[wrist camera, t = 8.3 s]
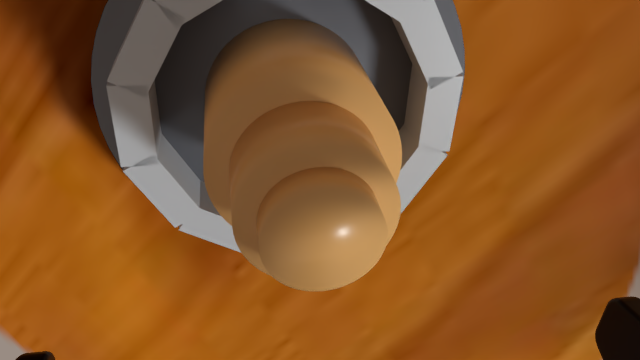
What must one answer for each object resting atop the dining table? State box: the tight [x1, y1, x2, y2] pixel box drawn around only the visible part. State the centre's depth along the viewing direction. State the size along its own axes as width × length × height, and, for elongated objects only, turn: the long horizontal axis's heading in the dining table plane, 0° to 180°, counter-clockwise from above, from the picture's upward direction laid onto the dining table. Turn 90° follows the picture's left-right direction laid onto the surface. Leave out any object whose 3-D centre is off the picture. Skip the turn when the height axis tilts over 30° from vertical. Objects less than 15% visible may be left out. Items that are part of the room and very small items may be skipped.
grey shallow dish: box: [91, 0, 465, 253], centre depth 17 cm, size 11×11×2 cm
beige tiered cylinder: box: [203, 19, 402, 291], centre depth 14 cm, size 5×5×7 cm
